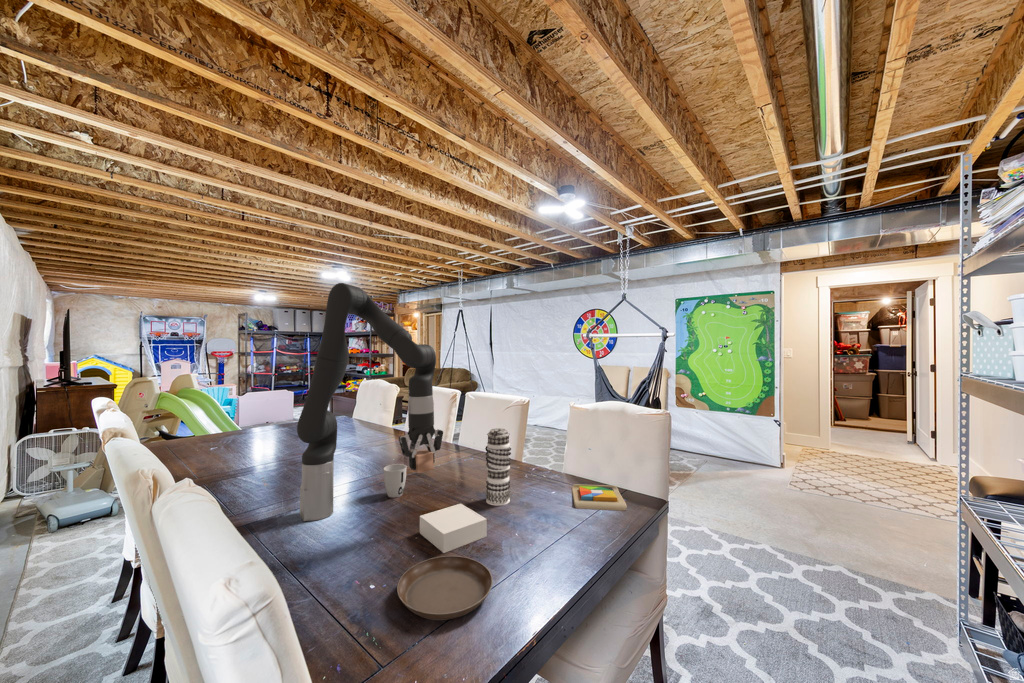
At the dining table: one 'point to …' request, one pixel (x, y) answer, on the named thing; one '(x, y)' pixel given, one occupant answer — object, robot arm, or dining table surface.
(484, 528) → the off-white plinth
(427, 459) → the terracotta cube
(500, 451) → the decorative candle
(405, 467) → the cup
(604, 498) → the wooden puzzle
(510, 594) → the dining table surface
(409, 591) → the plant saucer
